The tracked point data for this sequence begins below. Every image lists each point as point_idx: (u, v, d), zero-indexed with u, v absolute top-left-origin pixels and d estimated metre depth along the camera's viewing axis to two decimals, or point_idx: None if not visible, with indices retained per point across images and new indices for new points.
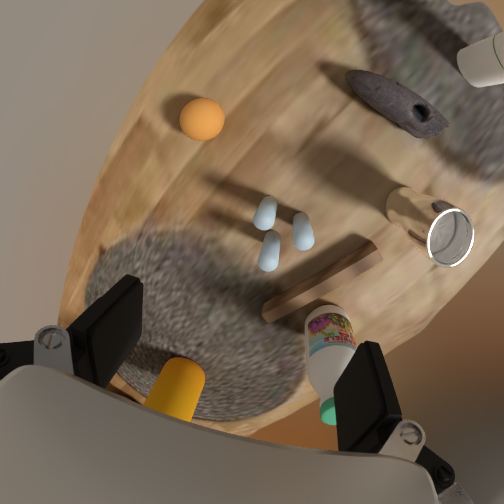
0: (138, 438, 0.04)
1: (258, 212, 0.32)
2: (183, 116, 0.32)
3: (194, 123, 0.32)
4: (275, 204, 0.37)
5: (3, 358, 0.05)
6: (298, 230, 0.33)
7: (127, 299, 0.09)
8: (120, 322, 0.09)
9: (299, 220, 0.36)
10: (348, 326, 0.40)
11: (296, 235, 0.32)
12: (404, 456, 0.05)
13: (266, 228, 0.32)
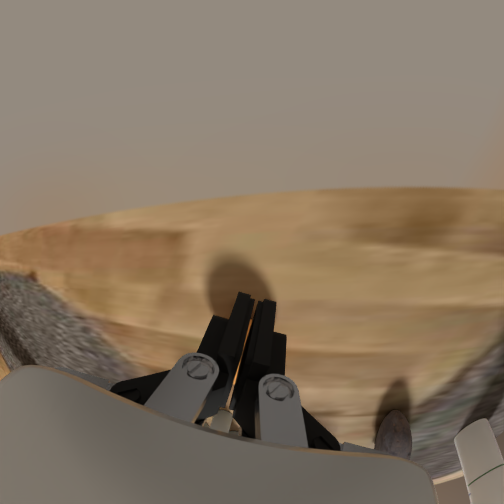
0: (138, 438, 0.04)
1: None
2: None
3: None
4: None
5: (139, 398, 0.06)
6: None
7: None
8: None
9: None
10: None
11: None
12: (258, 407, 0.07)
13: None
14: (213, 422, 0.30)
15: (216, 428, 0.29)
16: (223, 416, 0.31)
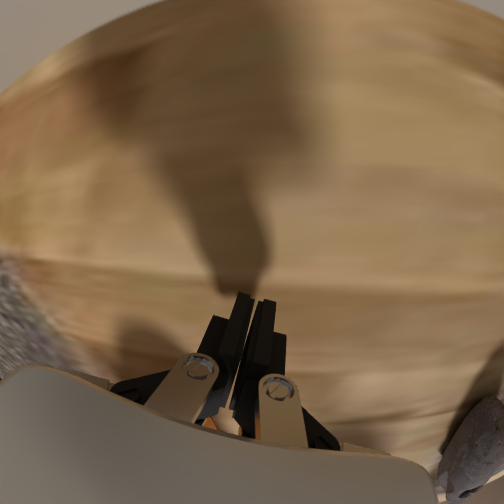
0: (138, 438, 0.04)
1: None
2: None
3: None
4: None
5: (139, 398, 0.06)
6: None
7: None
8: None
9: None
10: None
11: None
12: (258, 407, 0.07)
13: None
14: None
15: None
16: None
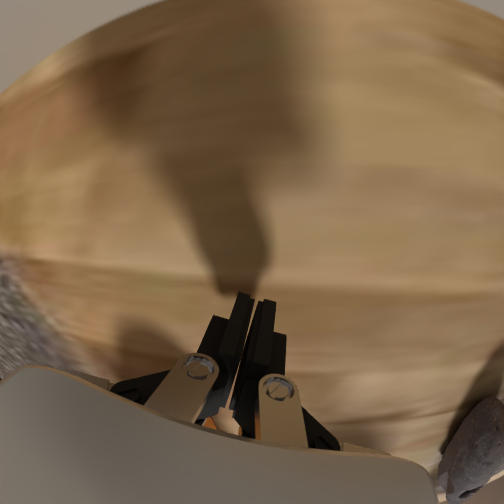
0: (138, 438, 0.04)
1: None
2: None
3: None
4: None
5: (139, 398, 0.06)
6: None
7: None
8: None
9: None
10: None
11: None
12: (258, 407, 0.07)
13: None
14: None
15: None
16: None
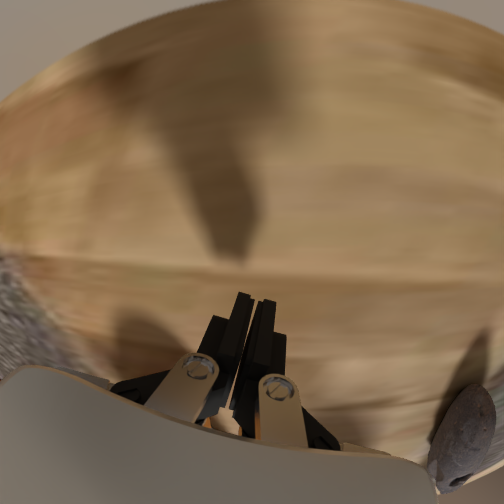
0: (138, 438, 0.04)
1: None
2: None
3: None
4: None
5: (139, 398, 0.06)
6: None
7: None
8: None
9: None
10: None
11: None
12: (258, 407, 0.07)
13: None
14: None
15: None
16: None
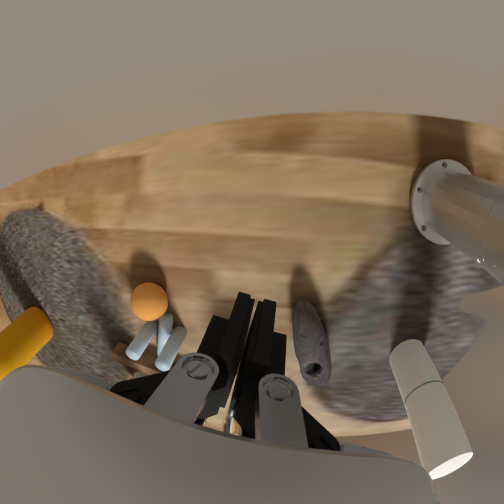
0: (138, 438, 0.04)
1: None
2: None
3: (156, 284, 0.42)
4: (171, 331, 0.46)
5: (139, 398, 0.06)
6: (164, 357, 0.38)
7: None
8: None
9: (174, 342, 0.42)
10: None
11: (160, 360, 0.38)
12: (258, 407, 0.07)
13: None
14: (159, 326, 0.45)
15: (161, 333, 0.45)
16: (163, 325, 0.44)
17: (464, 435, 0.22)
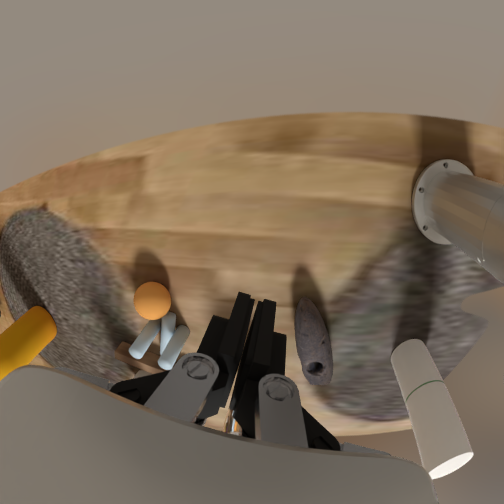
0: (138, 438, 0.04)
1: None
2: None
3: (159, 284, 0.42)
4: (174, 330, 0.46)
5: (139, 398, 0.06)
6: (166, 356, 0.39)
7: None
8: None
9: (177, 341, 0.43)
10: None
11: (162, 359, 0.38)
12: (258, 407, 0.07)
13: None
14: (161, 325, 0.45)
15: (163, 332, 0.45)
16: (166, 324, 0.44)
17: (465, 435, 0.22)
